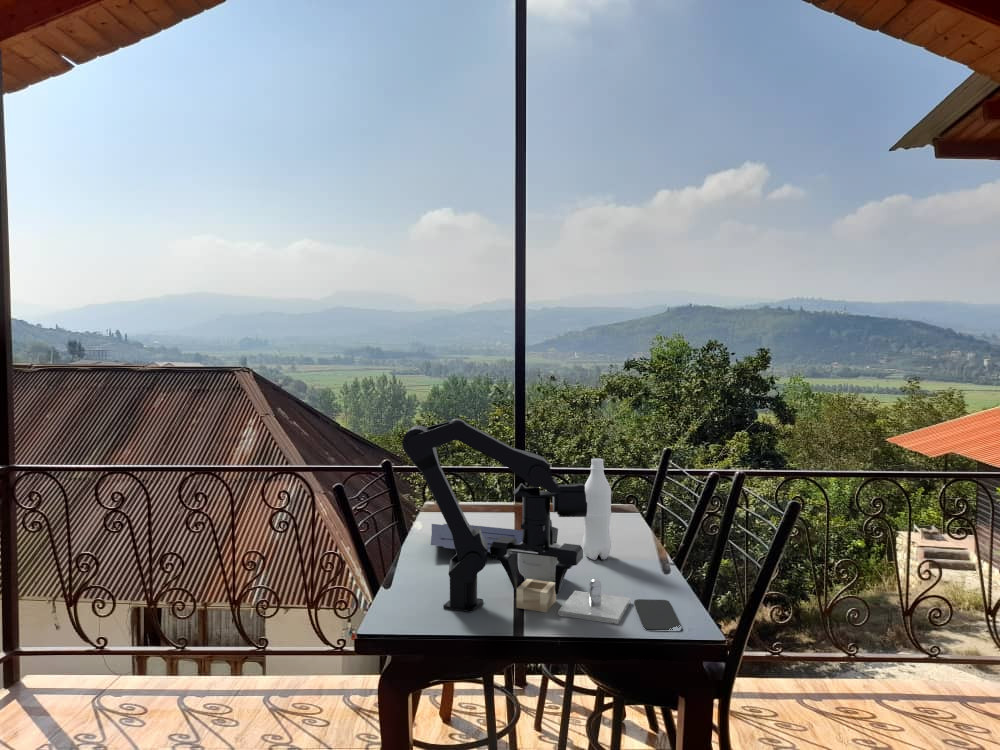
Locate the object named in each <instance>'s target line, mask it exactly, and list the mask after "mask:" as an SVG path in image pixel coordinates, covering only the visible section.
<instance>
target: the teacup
mask: <svg viewBox="0 0 1000 750" xmlns="http://www.w3.org/2000/svg"><path fill="white" fill-rule="evenodd" d="M520 544H521V543H520ZM562 545H563V544H561V543H558V542H557V543H554V544H553V545H550V547H555V548H560V547H561V546H562ZM558 563H559V562H558V561H557V557H550V556H541V555H533V554H525V553H518V555H517V571H519V574H520V575H521V576H522V577H523V578H524V579H525V580H526V579H533V580H541V581H549V582H555V571H556V565H557V564H558Z"/></svg>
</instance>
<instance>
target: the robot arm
mask: <svg viewBox="0 0 1000 750" xmlns="http://www.w3.org/2000/svg"><path fill="white" fill-rule="evenodd" d="M453 441H459V442H460V443H463V444H464V445H466V446H468V447H470V448H472V449H474V450H476V451H478V452H479V453H481V454H483V455H484V456H487V457H488V458H491V459H493V460H494V461H496V462H499V463H500V464H502V465H504V466H505V467H507V468H508V469H509V470H511V472H513V473H514V474H515V475H516V476H517V477H518V478H520V479H521V480H523V481H524V482H525V484H526V483H527V485H529V486H528V487H527V486H525V485H524V484H523V483H522V482H521V483H519V485H518V486H517V488H515V489H514V490H513V495H514V497H515V498H522V522H521V523H520V530H522V531H523V542H522V543H521V544H520V543H517V540H516V538H512V537H503V536H501V537H499V538H498V539H496V540H495V541H493V542H492V543H491V546H490V552H488V544H487V541H486V540H485V539H484V537H483V536H482V533H481V529H480V526H481V525H477V526H478V527H477V528H475V529H473V528H472V527H471V526H470V525H471V524H470V523H469V522H468V520H467V517H466V516H465V514H464V512H463V510H462V508H461V506H460V504H459V502H458V499H457V497H456V495H455V493H454V491H453V489H452V487H451V485H450V483H449V480H448V478H447V477H446V475H445V473H444V470H443V468H442V466H441V464H440V461H439V457H438V456H439V455H438V452H437V448H438V447H440V446H443V445H445V444H448V443H450V442H453ZM401 445H402V449H403V451H404V452H405V454H406V455H407V457H408V458H409V459H410V461H411V462H412V463H413V464H414V466H415V467H416V468H417V469H418V470H419V472H421V474H422V475H423V477H424V480H425V481H426V483H427V485H428V488H429V490H430V493H431V494H432V496H433V498H434V499H435V502H436V504H437V507H438V508H439V510H440V513H441V514H442V516H443V519H444V521H445V524H447V525H448V527H449V529H450V531H451V533H452V537H453V541H454V546H455V549H454V550H455V553H456V554H455V555H454V556H453V557H452V558H451V559H450V562H449V566H448V567H449V568H448V577H449V600H448V601H446V602H445V603H444V604H443V605H442V607H443V608H444V609H448V610H449V609H450V610H456V611H461V612H462V611H463V612H469V613H470V612H473V611H475V609H477V608H478V607H479V606H480V605H481V604H482V603H483V602H484V599H483V598H478V574H479V572H481V571H482V570H483V569H484V568H485V567H486V564H487V562H488V559H487V558H488V556H487V555H488V554H487V553H489V555H490V556H491V557H495V560H496V561H499V562H500V563H501V565H502V567H503V569H504V571H505V572H506V574H507V576H508V579H509V581H510V583H511V585H512V588H513V589H514V590H517V588H518V582H519V581H518V553H525V554H533V555H541V556H550V557H557V561H558V562H559V563H558V564H557V565H556V571H555V580H554V582H555V593H556V596H557V595H559V593H560V591H561V588H562V585H563V582H564V579H565V576H566V574H567V571H568V570H569V569H572V567H573V566H577V565H578V564H579V563H580V562H581V561H582V559H584V551H583V546H581V544H574V543H573V544H572V543H566V542H565V543H563V544H561V545H562V546H561V547H560V548H555V547H550V545H553V544H554V543H558V535H559V534H558V533H559V528H558V527H554V526H553V522H552V519H551V497H552V512H553V513H556V515H558V518H584V517H586V515H587V502H586V494H585V484H583V483H574V484H559V483H558V481H557V479H556V478H554V477H553V476H552V469H551V466H550V464H549V462H548V461H547V460H546V458H544V457H543V456H541V455H539V454H536V453H533V452H531V451H526V450H522V449H518V448H516V447H513V446H511V445H508V444H507V443H505V442H503V441H501V440H499V439H498V438H495V437H493V436H492V435H490V434H488V433H486V432H484V431H482V430H480V429H478V428H476V427H474V426H472V425H471V424H469V423H467V422H466V421H465V420H464V419H462V418H458V417H457V418H453V419H452V420H449V421H446V422H442V423H437V424H433V425H429V426H423V425H415V426H411V427H410V428H409V429H408V431H406V433H405V434H404V436H403V437H402V442H401ZM540 487H541V488H542V489H543V490H540Z"/></svg>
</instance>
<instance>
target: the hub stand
mask: <svg viewBox="0 0 1000 750" xmlns="http://www.w3.org/2000/svg"><path fill="white" fill-rule="evenodd" d="M588 588H589V591H588V592H587V591H580V590H579V591H578V590H574V591H573V592H572V593H571V595H570V596H569V597H568V599H566V600H565V602H564V603H563V605H562V606H561V607H560V608H559V609H558V616H560V617H566V618H573V619H578V620H579V619H581V620H588V621H593V622H601V623H606V622H607V623H608V624H613V623H614V625H619V623H620V622H621V620H622V618H623V616H624V615H625V613H626V611H627V609H628V608H629V605H630V604H631V598H630V597H624V596H617V595H609V594H602V582H601V581H600V580H599V579H597V578H593V579H591V580H590V582H589V587H588ZM619 621H620V622H619ZM607 623H606V624H607Z"/></svg>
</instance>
